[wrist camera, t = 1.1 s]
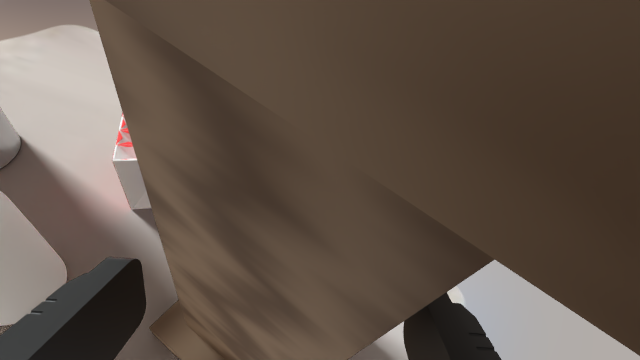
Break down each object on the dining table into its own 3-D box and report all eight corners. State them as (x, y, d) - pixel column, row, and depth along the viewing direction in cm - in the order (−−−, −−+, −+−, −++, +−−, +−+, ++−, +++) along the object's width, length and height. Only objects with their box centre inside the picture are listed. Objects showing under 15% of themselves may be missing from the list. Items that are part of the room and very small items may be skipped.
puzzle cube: (207, 155, 41) (205, 107, 35) (209, 205, 36) (206, 159, 31) (138, 155, 38) (123, 103, 33) (130, 209, 34) (111, 160, 28)
